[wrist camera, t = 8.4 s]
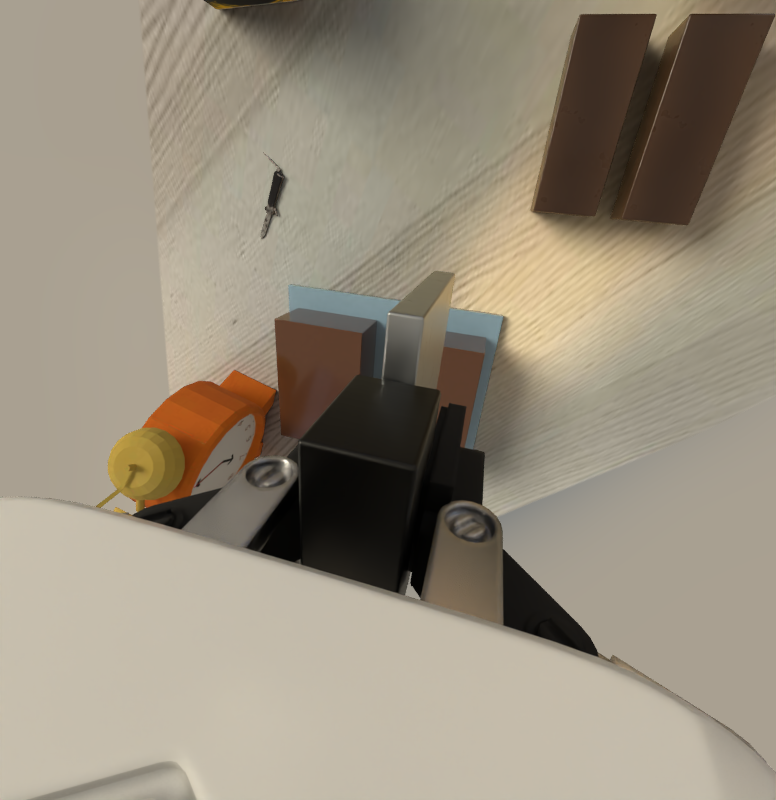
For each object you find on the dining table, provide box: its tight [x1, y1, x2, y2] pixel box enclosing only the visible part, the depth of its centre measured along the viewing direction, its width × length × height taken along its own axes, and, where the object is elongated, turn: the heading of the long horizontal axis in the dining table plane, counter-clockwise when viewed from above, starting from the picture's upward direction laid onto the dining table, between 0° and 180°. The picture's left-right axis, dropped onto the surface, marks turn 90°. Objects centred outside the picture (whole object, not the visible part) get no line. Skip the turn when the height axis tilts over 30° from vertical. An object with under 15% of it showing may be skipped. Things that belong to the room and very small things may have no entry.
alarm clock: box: [96, 370, 276, 516], centre depth 36 cm, size 13×6×20 cm, turn 159°
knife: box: [261, 152, 284, 239], centre depth 33 cm, size 6×1×3 cm
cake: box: [275, 284, 503, 449], centre depth 36 cm, size 20×16×5 cm
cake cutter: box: [298, 271, 455, 595], centre depth 12 cm, size 2×9×10 cm, turn 175°
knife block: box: [531, 14, 775, 225], centre depth 24 cm, size 10×10×3 cm
